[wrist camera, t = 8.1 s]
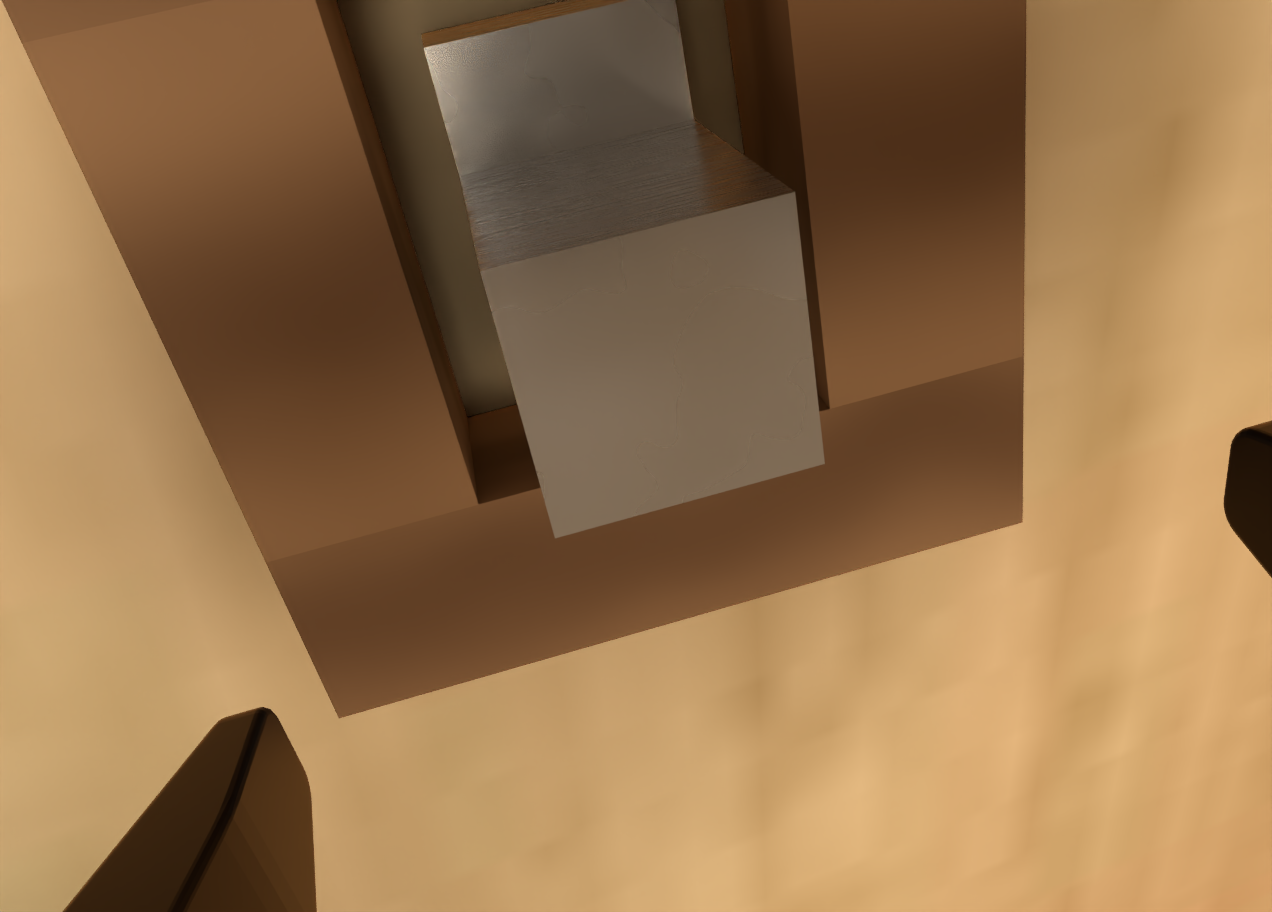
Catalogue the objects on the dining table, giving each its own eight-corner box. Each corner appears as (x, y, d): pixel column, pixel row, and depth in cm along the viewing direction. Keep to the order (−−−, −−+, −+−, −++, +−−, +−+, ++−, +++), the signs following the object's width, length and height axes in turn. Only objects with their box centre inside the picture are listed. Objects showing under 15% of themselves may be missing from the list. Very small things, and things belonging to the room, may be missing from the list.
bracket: (700, 300, 20) (824, 463, 14) (509, 350, 20) (554, 538, 14) (646, -19, 17) (775, 19, 11) (420, 34, 17) (431, 100, 11)
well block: (942, 443, 23) (1022, 521, 20) (347, 608, 22) (338, 717, 19) (906, -453, 15) (1030, -542, 12) (-29, -266, 14) (-145, -313, 11)
